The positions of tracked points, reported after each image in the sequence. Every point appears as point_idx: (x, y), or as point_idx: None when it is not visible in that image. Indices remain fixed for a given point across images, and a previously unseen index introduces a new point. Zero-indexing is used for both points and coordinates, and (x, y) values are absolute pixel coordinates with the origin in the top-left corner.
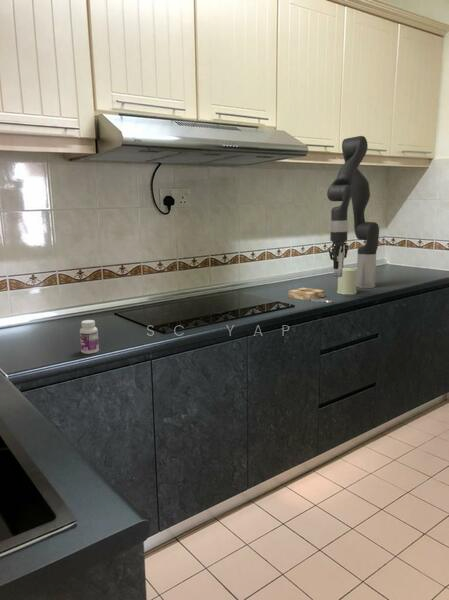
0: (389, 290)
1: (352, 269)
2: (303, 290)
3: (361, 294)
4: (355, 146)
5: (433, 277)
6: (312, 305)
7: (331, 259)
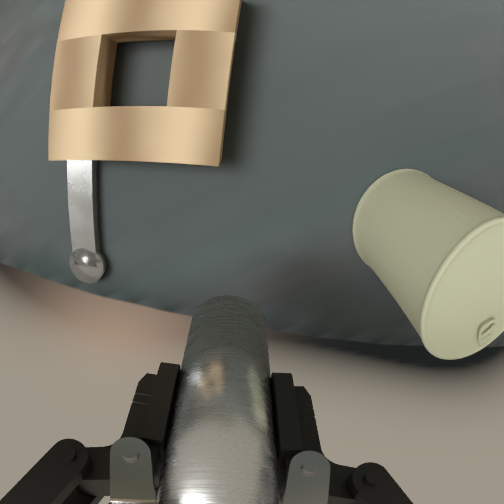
0: None
1: (491, 319)
2: (156, 31)
3: (384, 301)
4: None
5: None
6: (8, 230)
7: (66, 448)
